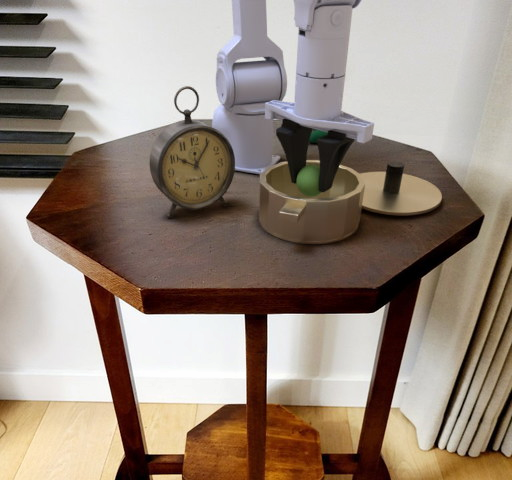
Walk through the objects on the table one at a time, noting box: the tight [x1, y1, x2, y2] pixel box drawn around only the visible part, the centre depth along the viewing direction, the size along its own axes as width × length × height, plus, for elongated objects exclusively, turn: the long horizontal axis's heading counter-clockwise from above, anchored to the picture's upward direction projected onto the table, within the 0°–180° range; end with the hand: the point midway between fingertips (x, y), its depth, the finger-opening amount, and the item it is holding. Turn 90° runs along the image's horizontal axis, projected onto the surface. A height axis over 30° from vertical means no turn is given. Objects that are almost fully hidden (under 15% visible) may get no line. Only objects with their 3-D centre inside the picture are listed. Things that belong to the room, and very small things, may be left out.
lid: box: [359, 160, 443, 216], centre depth 79 cm, size 15×15×5 cm
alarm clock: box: [149, 85, 236, 219], centre depth 72 cm, size 11×5×16 cm, turn 118°
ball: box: [296, 165, 322, 196], centre depth 71 cm, size 4×4×4 cm
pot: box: [258, 159, 365, 245], centre depth 73 cm, size 14×19×6 cm
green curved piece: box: [309, 129, 328, 144], centre depth 100 cm, size 9×4×6 cm
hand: (311, 185), depth 71 cm, fingers closed on ball, 4 cm apart
